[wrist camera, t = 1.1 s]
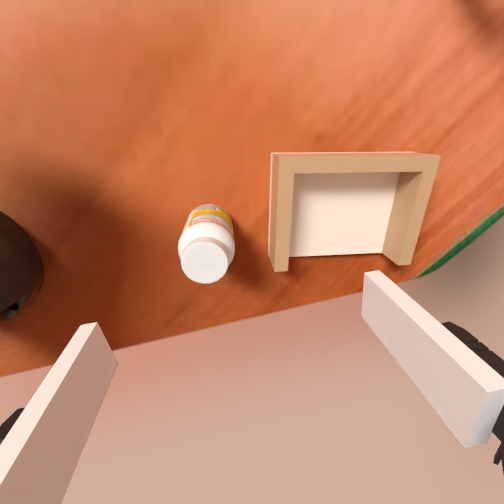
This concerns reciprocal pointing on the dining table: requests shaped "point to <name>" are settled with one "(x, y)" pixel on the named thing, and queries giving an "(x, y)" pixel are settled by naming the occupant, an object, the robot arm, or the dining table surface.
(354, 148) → the dining table surface
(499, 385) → the robot arm
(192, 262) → the supplement bottle
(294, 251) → the u rest
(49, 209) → the dining table surface
